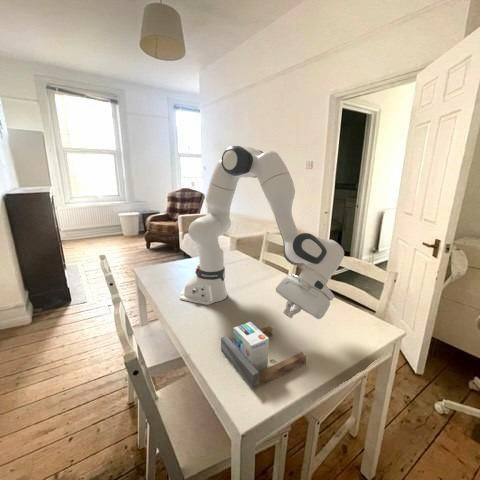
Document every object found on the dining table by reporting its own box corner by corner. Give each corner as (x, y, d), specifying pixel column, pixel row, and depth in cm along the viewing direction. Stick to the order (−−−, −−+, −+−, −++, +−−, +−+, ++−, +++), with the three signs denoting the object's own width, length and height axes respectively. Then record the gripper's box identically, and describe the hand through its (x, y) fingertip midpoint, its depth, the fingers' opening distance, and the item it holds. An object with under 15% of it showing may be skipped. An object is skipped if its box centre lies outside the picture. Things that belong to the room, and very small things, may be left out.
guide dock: (268, 332, 100) (269, 320, 98) (305, 363, 84) (306, 350, 83) (221, 350, 90) (220, 337, 88) (252, 390, 74) (252, 375, 73)
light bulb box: (232, 355, 87) (232, 326, 84) (249, 348, 91) (250, 320, 88) (250, 377, 78) (250, 345, 76) (268, 368, 82) (270, 338, 79)
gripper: (286, 267, 98) (263, 298, 95) (330, 289, 81) (304, 327, 79) (294, 276, 101) (272, 306, 99) (338, 299, 84) (313, 335, 82)
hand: (286, 315), depth 89 cm, fingers closed
